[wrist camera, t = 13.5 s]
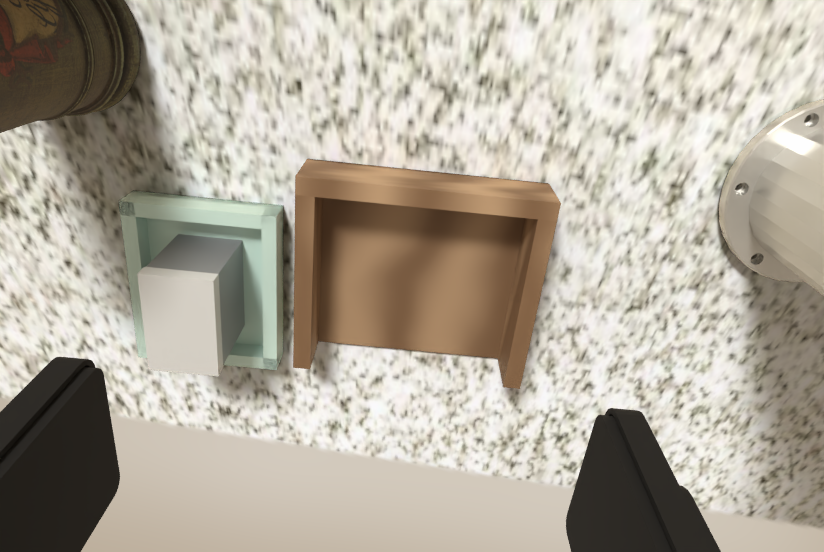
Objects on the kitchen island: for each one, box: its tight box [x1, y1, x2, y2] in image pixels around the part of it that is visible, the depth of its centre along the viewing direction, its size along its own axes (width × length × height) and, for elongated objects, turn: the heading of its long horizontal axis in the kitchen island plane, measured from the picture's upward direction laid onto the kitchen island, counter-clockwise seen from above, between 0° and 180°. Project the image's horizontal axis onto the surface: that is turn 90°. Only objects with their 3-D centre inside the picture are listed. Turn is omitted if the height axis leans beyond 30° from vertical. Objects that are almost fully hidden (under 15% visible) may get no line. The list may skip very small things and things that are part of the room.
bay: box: [293, 159, 561, 389], centre depth 41 cm, size 16×14×4 cm
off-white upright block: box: [137, 234, 245, 376], centre depth 40 cm, size 5×7×6 cm, turn 174°
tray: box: [119, 191, 283, 370], centre depth 43 cm, size 10×12×2 cm
